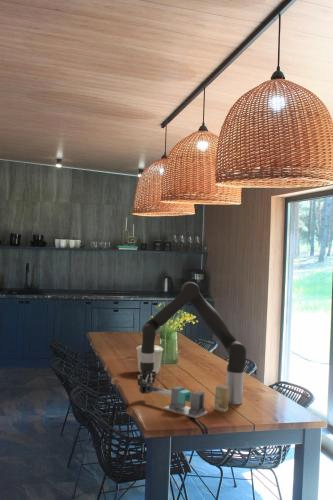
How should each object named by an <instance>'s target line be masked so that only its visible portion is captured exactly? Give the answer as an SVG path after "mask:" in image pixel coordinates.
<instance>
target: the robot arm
mask: <svg viewBox="0 0 333 500" xmlns="http://www.w3.org/2000/svg"><path fill="white" fill-rule="evenodd" d="M180 290H181V291H180V293H179V294H178V295H177V296H176V297H175V298H174V299H173V300H172V301H170V302H168V304H166V305H165V306H164V307H162V308H161V309H160V310H159V311H158V312H157V313H156V314H155V315H154V316H153V317H151V318H150V319H149V320H148V321H147V322H145V324H144V325H143V326H142V327H141V333H142V342H141V345H142V347H141V359H140V369H141V373H140V374H137V376H136V378H137V386H139V387H140V386H141V392H140V394H146V393H145V384H146V382H152V383H153V384H154V383H155V381H156V375H157V374H156V372H154V371H152V370H154V345H155V340H156V331H157V330H159V328H160V327H163V326H164V325H166V324H167V323H168V322H169V321H170V320H171V319H172V318H173V316H175V315H176V314H177V313H178V312H179V311H180V310H181V309H183V307H185V305H186V304H188V303H190V304H191V305H192V307H194V309H195V310H196V312H197V314H198V315H199V317H200V318H201V320H202V322H203V323H204V324H205V326H206V327H207V328H208V330H210V332H211V333H212V334H213V335H214V336H215V337H216V338H217V339H218V340H219V341H220V342H221V345H222V346H223V347H224V348H225V351H226V352H227V355H228V364H227V366H226V382H225V386H226V387H230V390H229V402H228V405H241V404H242V403H243V394H244V393H243V392H244V375H245V374H244V372H245V367H246V359H247V349H246V347H245V345H244V344H243V343H241V342H240V341H239V340H238V339H236V338H235V336H234V335H233V334H232V333H231V332H230V330H229V328H228V325H227V324H226V322H225V320H224V319H223V318H222V316H221V315H220V314H219V312H218V311H217V310H216V309H215V308H214V307H213V306H212V304H210V303H209V302H208V301H207V300H206V299H205V298H204V296H203V295H202V294H201V293H202V292H200V286H199V285H198V284H197V283H195V282H192V281H186V282H184V283H183V284H182V286H181V289H180ZM143 382H144V383H143Z"/></svg>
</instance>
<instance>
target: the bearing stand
mask: <svg viewBox="0 0 333 500" xmlns="http://www.w3.org/2000/svg"><path fill="white" fill-rule="evenodd" d="M182 390H186V387H185V386H180V385H177V386H175V387H171V391H172V393H171V396H170V403H169V404H168V405H166V406H163V408H162V409H163V410H165V411H168V412H172V413H175V414H179V415H182V416H186V417H190V418H193V419H197V418H200V417H202V416H205V415H206V414H207V415H208V411H206V407H205V392H204V391H203V390H202V391H201V390H196V391H193V392H192V391H191V402H190V406H187V405H186V403H187V401H185V404H181V403H178V392H179V391H182Z"/></svg>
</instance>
